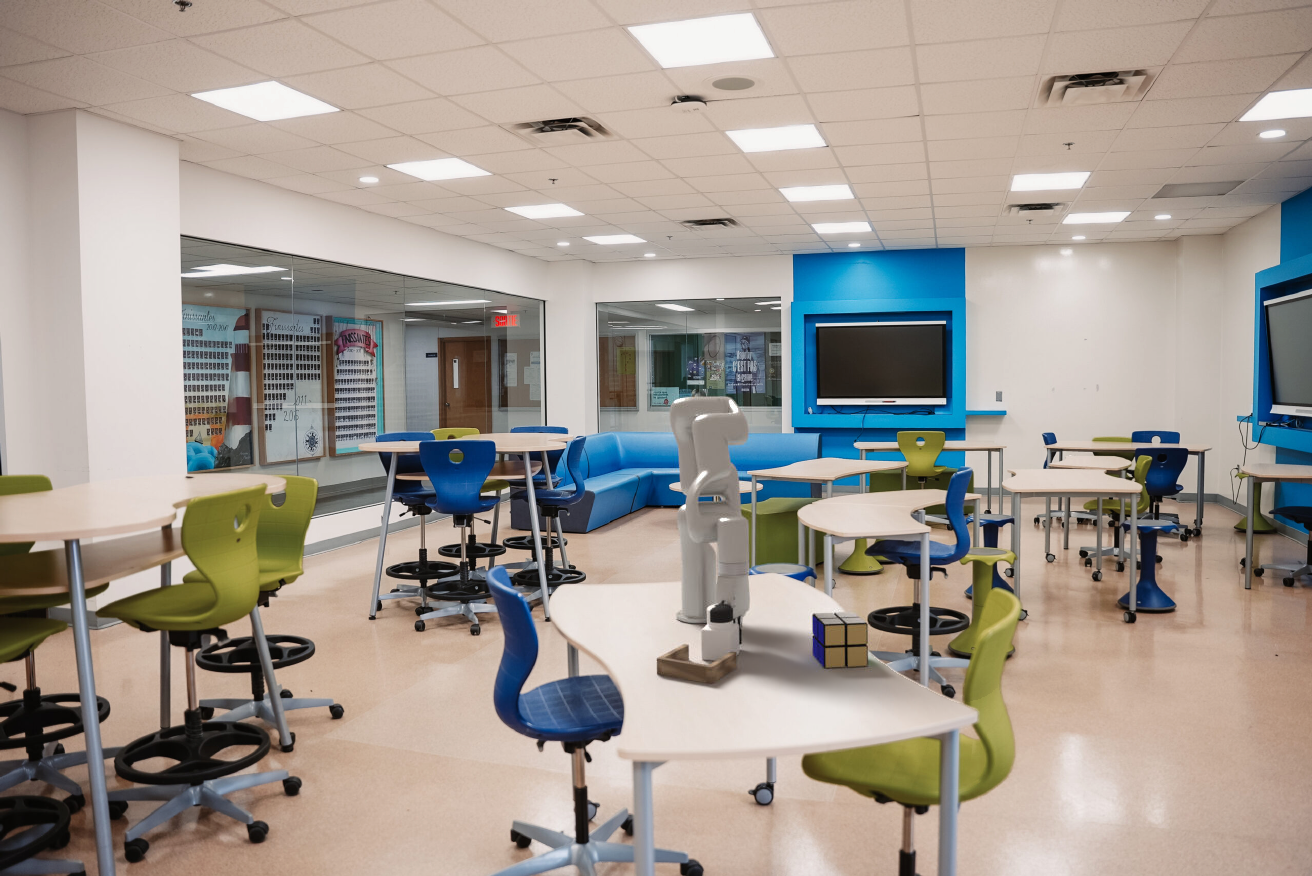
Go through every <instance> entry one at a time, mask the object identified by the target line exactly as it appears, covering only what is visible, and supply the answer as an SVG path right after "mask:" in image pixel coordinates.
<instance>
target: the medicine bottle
mask: <svg viewBox="0 0 1312 876" xmlns="http://www.w3.org/2000/svg"><path fill="white" fill-rule="evenodd" d="M700 635H701V636H700V638H701V639H700V640H701V641H700V642H701V659H702V660H705V661H713V662H715V661H717V660H718V659H720V658H722V657H723V656H725V655H727V654H728V653H730V652H737V656H739V653H740V645H739V624H736V623H733V608H732V607H731V606H729V605H726V604H713V605H711V606H709V607H708V608H707V623H706V624H705V626H704V627H703V628H702V629H701V630H700Z"/></svg>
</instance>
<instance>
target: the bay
mask: <svg viewBox="0 0 1312 876" xmlns="http://www.w3.org/2000/svg"><path fill="white" fill-rule="evenodd" d="M737 656H738V655H737V652H730V653H728V654H727V655H725V656H723V657H722V658H720V659H718V660H717V661H713V662H711V663H710V664H703V663H698V662H691V661H689V660H690V645H689V644H686V643H685V644H681V645H679V646H678V647H675V648H674V649H672V650H670V651H668V652H666V653H664V654H662V655H660V656H658V657H657V658H656V675H661V676H666V677H671V678H677V679H682V680H689V681H693V682H697V683H698V682H699V683H703V684H708V685H709V684H710V685H712V684H713V683H715V682H717V681H718V680H720V679H722V678H723V677H724V676H726V675H727V674H730V673H731V672H733V671H734V670H735V669H737V668H738V666H737V665H738V663H737V659H738V658H737Z"/></svg>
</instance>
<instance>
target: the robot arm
mask: <svg viewBox="0 0 1312 876" xmlns="http://www.w3.org/2000/svg"><path fill="white" fill-rule="evenodd" d="M669 422H670V426H671V429H672V430H671V431H672V433H673V436H674V438H675V441H676V445H677V450H678V465H679V466H678V467H679V470H678V471H679V482H680V489H681V492H682V494H683V495H685V496H686V498H685V504H683V505H681V506H680V507H679V508H678V510H677V513H676V522H677V529H678V535H679V543H680V544H679V545H680V565H681V566H680V572H681V573H680V575H681V579H680V580H681V610H679V611H677V612H676V613H675V615H676V617H675V619H677V621H678V620H679V621H681V622H684V623H689V624H707V608H708V607H709V606H711V605H713V604H726V605H729V606H731V607H732V608H733V623H736V624H739V646H740V645H742V643H743V640H742V636H743V633H742V628H743V619H744V617H745V616H746V615H747V614H746V613H747V612H748V611H749V610H750V602H751V599H750V596H751V595H750V583H749V575H750V541H749V540H750V539H749V538H750V536H749V535H750V534H749V533H750V531H749V529H750V528H749V520H748V519H747V518H746V517H744V515H742V505H741V503H742V502H741V492H740V491H741V488H740V479H739V472H738V469H737V468H736V466H735V464H733V463H732V462H731V457H730V450H729V446H742V445H744V444H745V443H747V441H748V439H749V432H750V431H749V424H748V421H747V418H746V416H745V414H744V413H743V410H741V408H740V407H739V405H738V404H737V403H736V401H735V400H734V399H733V398H732V397H729V396H723V395H722V396H687V397H681V398H678V399H675V400H674V401H672V403H671V405H670V408H669ZM700 497H701V498H702V497H703V498H704V497H720V499H721V500H715V501H714V500H712V501H709V500H708V501H699V498H700ZM714 543H716V547H717V548H716V551H715V548H714V547H713V546H712V545H711V544H714Z"/></svg>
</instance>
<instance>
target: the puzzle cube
mask: <svg viewBox="0 0 1312 876" xmlns="http://www.w3.org/2000/svg"><path fill="white" fill-rule="evenodd" d="M811 617H812V620H811V622H812V623H811V624H812V627H811V631H812V656H813V657H814V658H815V659H816V660H817V661H818V662H819V664H820V665H821V666H822V667H823V668H824V669H841V668H842V669H843V668H844V669H845V668H866V667H865V666H867V667H869V666H868V665H869V649H868V647H869V646H868V644H869V643H868V642H869V641H868V640H869V638H868V637H869V636H868V635H869V634H868V632H869V630H868V627H869V626H868V625H869V623H867V622H866V621H865V620H864V619H863V618H862V617H860V616H859V615H858V614H856V613H855V612H854V611H845V612H844V611H843V612H842V611H838V612H834V613H833V612H817V613H812V616H811ZM863 666H864V667H863Z"/></svg>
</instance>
